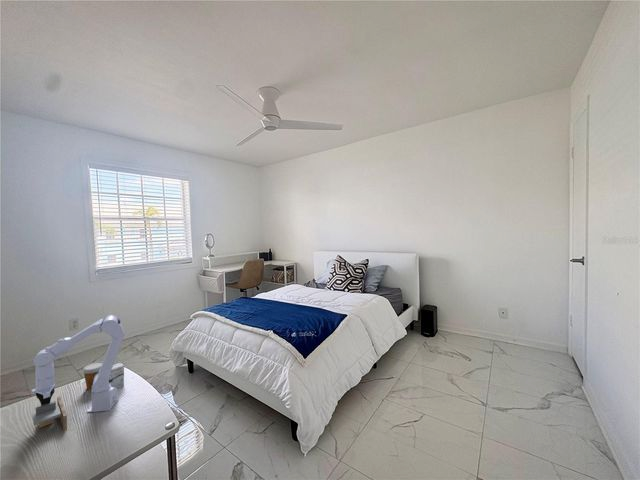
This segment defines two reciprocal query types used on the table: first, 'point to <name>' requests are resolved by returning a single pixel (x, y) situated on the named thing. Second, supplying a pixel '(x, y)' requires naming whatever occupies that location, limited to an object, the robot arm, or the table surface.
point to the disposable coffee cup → (91, 373)
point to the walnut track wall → (62, 413)
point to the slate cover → (46, 413)
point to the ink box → (117, 375)
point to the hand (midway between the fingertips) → (45, 406)
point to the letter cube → (46, 423)
